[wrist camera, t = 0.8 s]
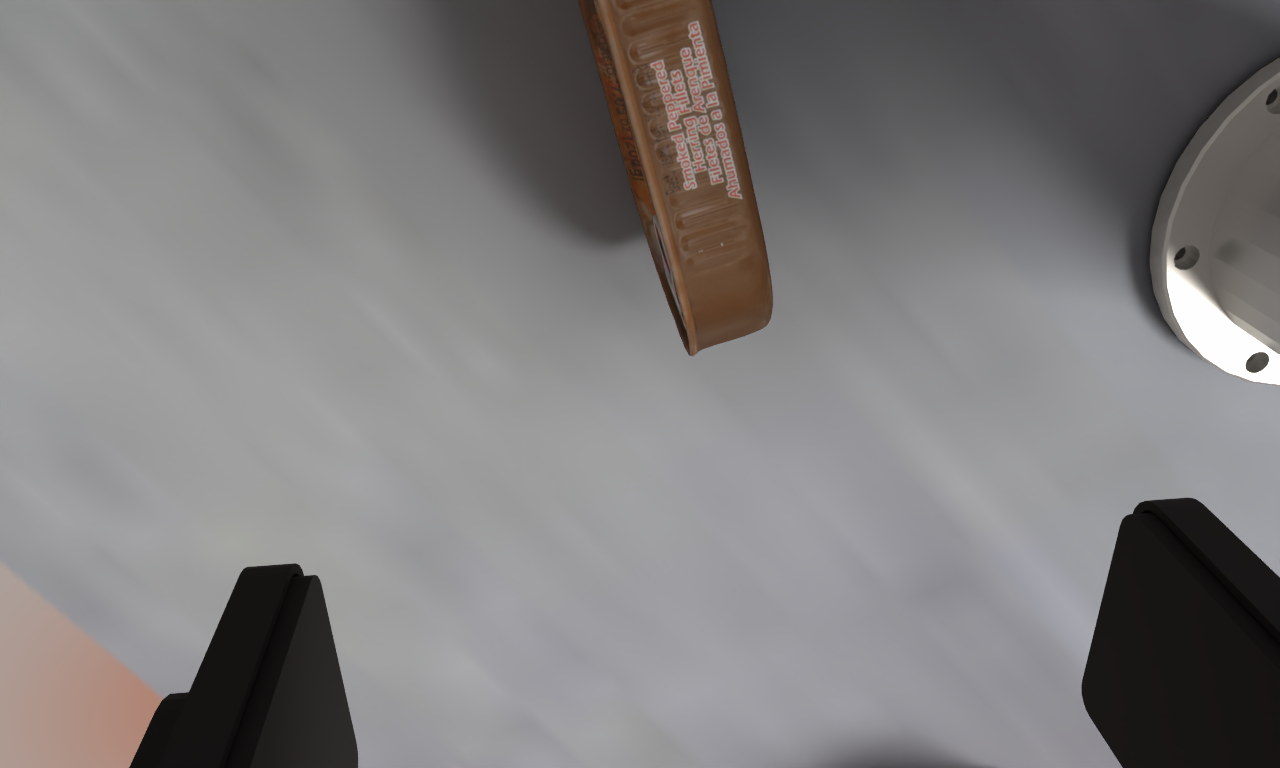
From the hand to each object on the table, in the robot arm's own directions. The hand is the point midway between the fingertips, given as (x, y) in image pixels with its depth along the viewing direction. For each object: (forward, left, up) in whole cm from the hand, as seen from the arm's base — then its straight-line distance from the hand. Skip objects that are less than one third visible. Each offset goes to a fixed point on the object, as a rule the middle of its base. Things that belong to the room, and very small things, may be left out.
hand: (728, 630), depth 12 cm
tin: (-1, -2, -23) cm, 23 cm away
